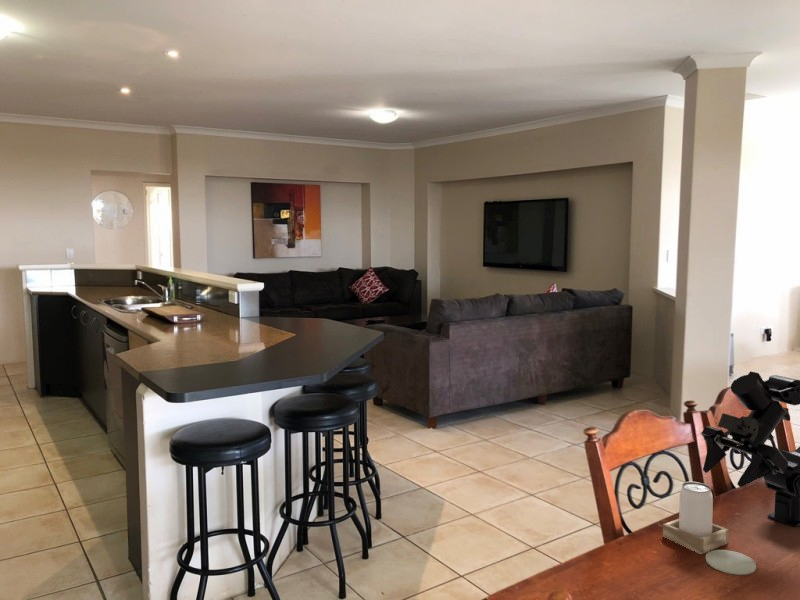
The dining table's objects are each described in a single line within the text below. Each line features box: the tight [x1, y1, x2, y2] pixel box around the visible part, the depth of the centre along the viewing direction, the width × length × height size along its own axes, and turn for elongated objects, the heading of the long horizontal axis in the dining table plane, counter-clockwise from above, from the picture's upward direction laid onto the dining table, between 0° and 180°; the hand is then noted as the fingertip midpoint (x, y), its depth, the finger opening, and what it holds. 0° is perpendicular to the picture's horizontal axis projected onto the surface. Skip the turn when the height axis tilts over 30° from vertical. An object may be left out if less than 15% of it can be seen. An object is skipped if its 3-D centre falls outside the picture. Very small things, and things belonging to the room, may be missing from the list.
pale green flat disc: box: [705, 549, 757, 576], centre depth 130 cm, size 9×9×1 cm
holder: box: [662, 518, 729, 555], centre depth 140 cm, size 9×9×3 cm
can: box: [678, 481, 714, 538], centre depth 139 cm, size 6×6×12 cm
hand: (721, 478), depth 141 cm, fingers open, 9 cm apart
